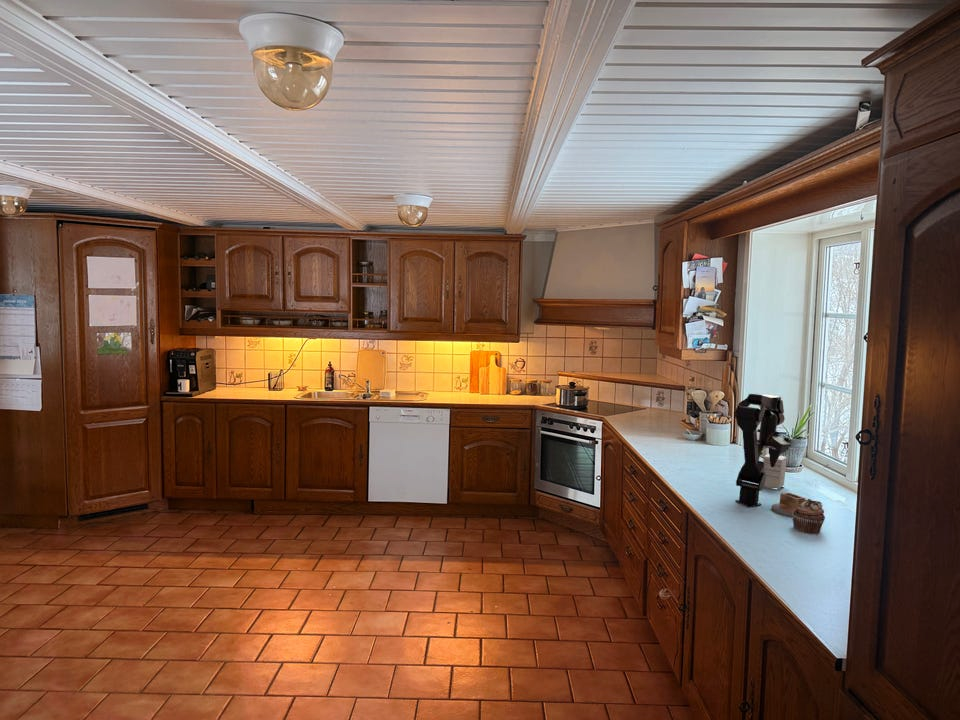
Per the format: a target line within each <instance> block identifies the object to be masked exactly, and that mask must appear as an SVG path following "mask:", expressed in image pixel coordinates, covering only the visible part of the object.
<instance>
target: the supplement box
mask: <svg viewBox="0 0 960 720" xmlns="http://www.w3.org/2000/svg"><path fill="white" fill-rule="evenodd" d="M787 459H788V458H787V456H785V455H784V456H783V455H780V456H779V458H778V460H777V462H776V464H775V466H774V467H771V465H770V456H769V453H767V454H766V455H763V459H762V462H764V469H765V473H766V479H765V483H764V488H766V487H769V488H768V489H771V488H777V489H780V488H781V487H782V486H783V485H784V486H785V480H786V479H785V478H786V468H787ZM781 489H782V488H781ZM781 489H780V490H781Z"/></svg>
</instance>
